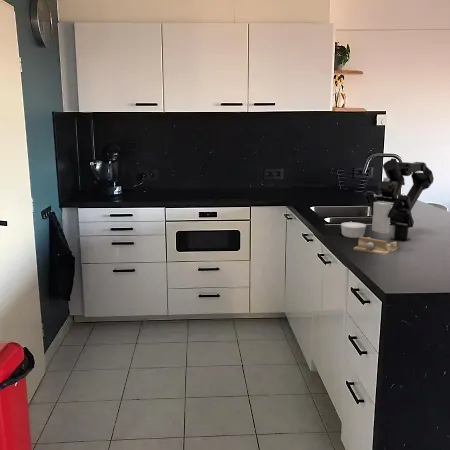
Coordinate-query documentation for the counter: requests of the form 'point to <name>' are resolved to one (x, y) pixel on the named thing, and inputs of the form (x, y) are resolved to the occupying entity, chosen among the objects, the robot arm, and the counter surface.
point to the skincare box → (381, 217)
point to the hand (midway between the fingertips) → (379, 216)
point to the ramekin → (353, 229)
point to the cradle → (375, 246)
